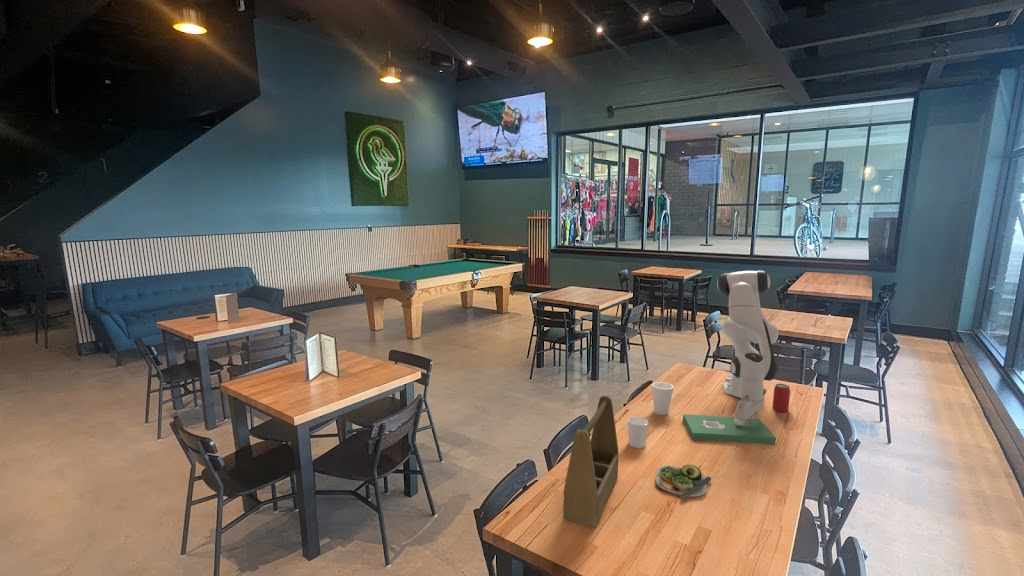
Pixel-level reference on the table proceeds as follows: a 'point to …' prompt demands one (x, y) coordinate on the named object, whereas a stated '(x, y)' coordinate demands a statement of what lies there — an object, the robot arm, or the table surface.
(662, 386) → the foam cup
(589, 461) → the caddy
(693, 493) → the avocado toast plate
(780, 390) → the beer can
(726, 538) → the table surface
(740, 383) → the robot arm
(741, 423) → the ball
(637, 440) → the white cup
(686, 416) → the green rectangular slab
